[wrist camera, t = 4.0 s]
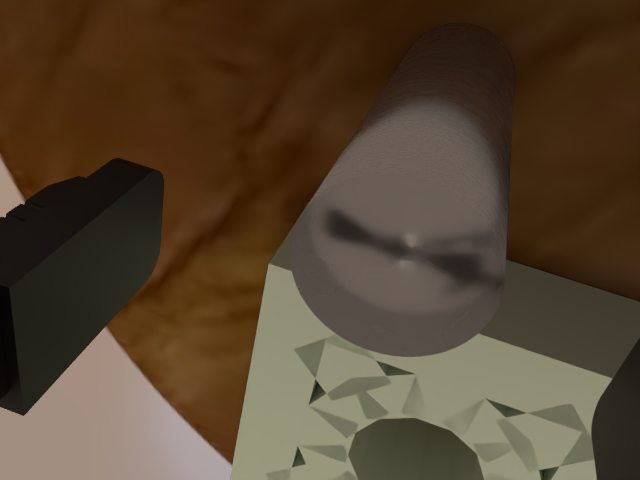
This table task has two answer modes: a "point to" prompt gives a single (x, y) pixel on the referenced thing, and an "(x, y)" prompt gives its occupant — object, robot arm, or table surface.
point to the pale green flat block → (434, 390)
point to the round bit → (417, 204)
